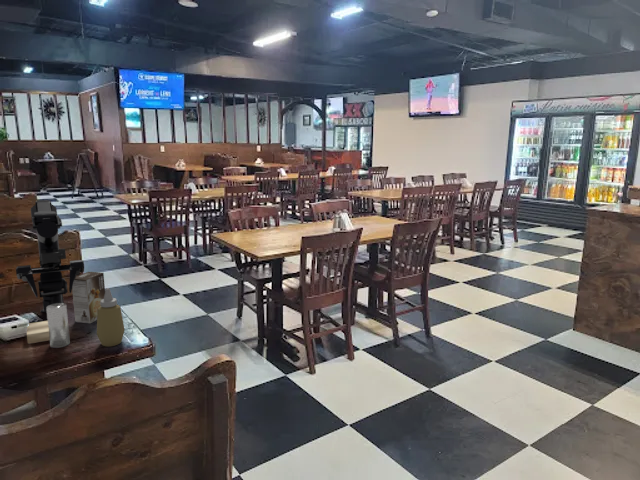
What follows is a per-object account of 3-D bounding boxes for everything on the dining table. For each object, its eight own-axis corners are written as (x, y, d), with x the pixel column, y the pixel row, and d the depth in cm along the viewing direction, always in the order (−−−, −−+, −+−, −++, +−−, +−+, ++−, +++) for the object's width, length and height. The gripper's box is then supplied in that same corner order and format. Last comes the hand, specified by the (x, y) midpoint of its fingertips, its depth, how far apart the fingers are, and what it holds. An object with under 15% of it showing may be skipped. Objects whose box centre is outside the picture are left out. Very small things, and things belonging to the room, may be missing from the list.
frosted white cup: (58, 339, 147) (54, 302, 145) (73, 341, 146) (70, 304, 144) (46, 346, 142) (42, 308, 139) (61, 348, 141) (58, 310, 139)
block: (28, 332, 152) (27, 323, 152) (62, 326, 157) (62, 318, 157) (27, 343, 144) (26, 334, 143) (64, 337, 149) (63, 328, 148)
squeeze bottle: (98, 350, 141) (93, 294, 137) (97, 340, 148) (92, 286, 144) (126, 345, 144) (122, 291, 140) (124, 336, 151) (120, 283, 147)
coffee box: (92, 312, 170) (88, 270, 167) (107, 314, 169) (104, 272, 166) (74, 322, 161) (70, 278, 158) (90, 323, 160) (86, 279, 157)
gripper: (12, 243, 139) (16, 293, 135) (81, 237, 148) (87, 284, 144) (15, 254, 148) (19, 302, 144) (80, 249, 157) (86, 293, 153)
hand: (53, 295), depth 146 cm, fingers open, 9 cm apart
